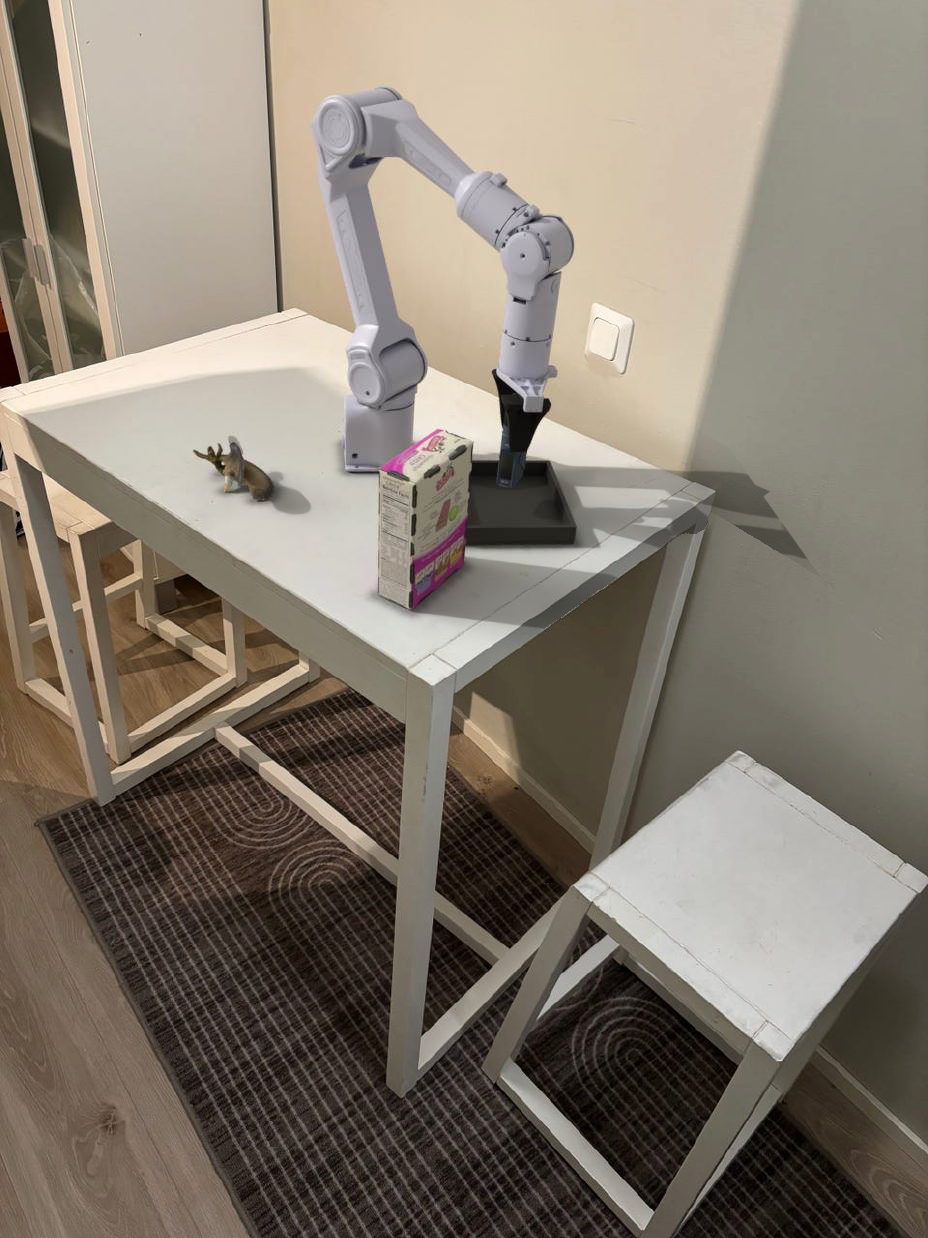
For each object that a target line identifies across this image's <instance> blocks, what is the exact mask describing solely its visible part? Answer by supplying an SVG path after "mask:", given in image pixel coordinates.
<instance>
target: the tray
mask: <svg viewBox="0 0 928 1238" xmlns="http://www.w3.org/2000/svg"><path fill="white" fill-rule="evenodd" d="M498 464H499V459H472V468H471V479H470V494H469V503H468V518H467V531H466V544H465V546H505V545H506V546H521V545H525V546H526V545H527V546H529V545H530V546H532V545H574V544H575V539H576V536H577V535H576V533H577V529H578V526H577V524H576V522H575V519H574V517H573V514H572V512H571V510H570V507H569V504H568V501H567V499H566V497H565V495H564V493H563V490H562V487H561V485H560V482H559V479H558V477H557V475H556V472H555V469H554V467H553V465H552V462H551V460H549V459H547V460H546V459H545V460H543V459H542V460H541V459H539V460H537V459H536V460H535V459H534V460H533V459H530V460H529V459H528V460H527V459H526V463H525V469H524V470H523V476H522V477H521V478H520V480H519V481H518V483H517V484H516V485H515V487H514V488H505V487H502V486H499V485H498V484H496V482H497V473H498Z"/></svg>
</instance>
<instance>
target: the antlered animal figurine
mask: <svg viewBox="0 0 928 1238" xmlns="http://www.w3.org/2000/svg"><path fill="white" fill-rule="evenodd" d="M227 439H228V440H227V441H228V444H229V445H228V446H229V450H230V451H229V452H228V453H227V454H224V453H223V451H224V449H223V447H222V444H221V443H219V442H218V443H217V447H218V448H217V452H215V450H214V448H213V447H212V445H208V447H207V449H206V452H207V454H205V453H202V452H199V451H198V450H197V449H192V452H193V454H195V456H196V457H198V458H200V459H202V460H206V461H208V462H210V463H211V465H213V466H214V468H215V470H217V472H218V473H219V474H221V475H223V474H224V488H223V492H224V493H226V492H228V490H229V489H230V488H232V486H233V482H234V479H235V477H236V478H238V481H239V483H240V484H242V483H243V481H244V482H245V483H246V485H247V487H248V489H249V493H250V496H251V497H252V499H253V500H257V501H263V502H265V501H267V500H270V499H271V497H272V496H273V493H274V492H275V485H274V482H273V480H272V479H271V477H269V475H268V474H267V473H266V472H265V471H264V470H263V469H262V468H260V467H259V466H258V465H256V464H254V463H253V462H251V461H249V460H247V459H245V458H244V456H243V455H244V450H243V447H242V446H241V443H240V441H239V440H238V438H237V437H236V436H235V435H228V437H227ZM222 463H224V464H222Z"/></svg>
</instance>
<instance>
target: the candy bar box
mask: <svg viewBox="0 0 928 1238" xmlns="http://www.w3.org/2000/svg"><path fill="white" fill-rule="evenodd" d="M474 443H475V442H474V441H473V440H471V439H468V438H466V437H462V436H460V435H458V434H456V433H452V432H449V431H448V430H444V429H441V428H437V429H435V430H434V431H431V433H429V434H428V435H426V436H425V437H423V438H422V439H421V440H419V441H418V442H416V443H414V444H413V446H411V447H410V448H408V449H407V450H405V451H404V452H402V453H401V454H399V455H398V456H396V457H395V458H393V459H392V460H390V461H389V462H387V463H386V464H384V465H383V466H381V467H380V468H379V471H378V541H377V544H378V545H377V548H378V550H377V553H378V554H377V555H378V556H377V595H378V596H379V597H381V598H383V599H384V600H387V601H390V602H392V603H393V604H394V603H395V604H397V605H398V606H400V607H402V608H405V609H407V610H409V611H412V610H414V609H415V608H416V607H417V606H419V605H420V604H421V603H422V602H423V601H425V599H427V598H428V597H429V596H430V595H431V594H432V593H433V592H434V591H435V590H437V589H438V588H439V587H440V586H441V585H442V584H443V583H444V582H446V581H447V580H448V579H449V578H451V577H452V576H453V575H454V574H455V573H456V572H457V571H459V570H460V569H461V568H462V567H464V565H465V558H466V557H465V556H466V545H465V544H466V531H467V518H468V503H469V494H470V479H471V468H472V460H473V453H474Z"/></svg>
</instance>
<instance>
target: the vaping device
mask: <svg viewBox="0 0 928 1238" xmlns="http://www.w3.org/2000/svg"><path fill="white" fill-rule="evenodd" d="M518 394H519V393H514V394H513V395H518ZM499 448H500V449H499V455H498V460H499V464H498V473H497V482H496V484H498V485H499V486H502V487H505V488H514V487H515V485H516V484H517V483H518V481H519V480H520V478H521V477H522V476H523V470H524V469H525V463H526V460H527V455H528V451H527V452H511V451H510V448H509V443H508V422H507V415H506V410H505V416H504V424H503V429H502V430H501V438H500V447H499Z"/></svg>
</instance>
